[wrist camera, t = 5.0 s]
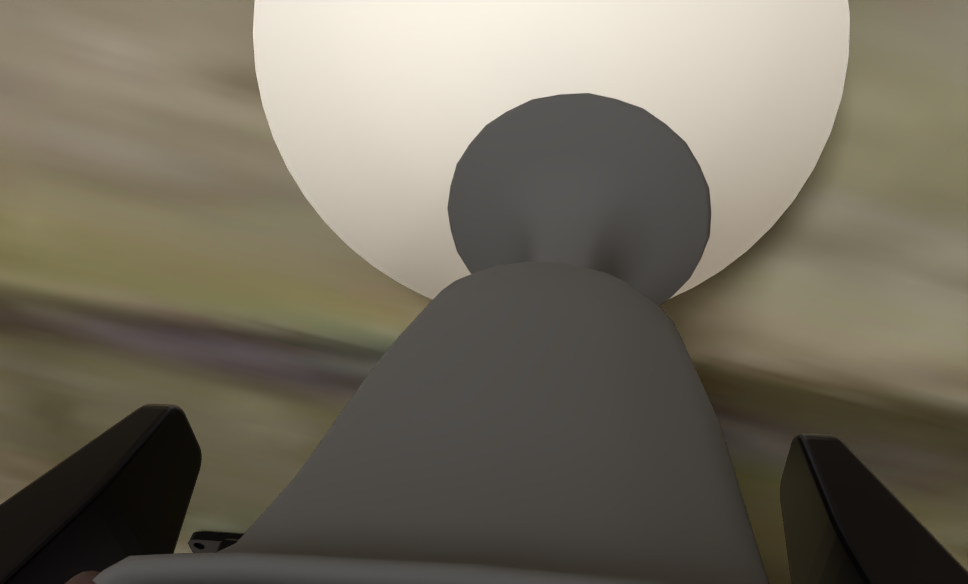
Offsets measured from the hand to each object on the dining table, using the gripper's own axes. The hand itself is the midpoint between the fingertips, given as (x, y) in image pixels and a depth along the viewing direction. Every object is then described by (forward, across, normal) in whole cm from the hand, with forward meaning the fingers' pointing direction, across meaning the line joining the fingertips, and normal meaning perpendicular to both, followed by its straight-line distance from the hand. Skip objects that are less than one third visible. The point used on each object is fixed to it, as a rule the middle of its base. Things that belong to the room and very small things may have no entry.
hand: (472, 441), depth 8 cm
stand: (+12, 0, 0) cm, 12 cm away
